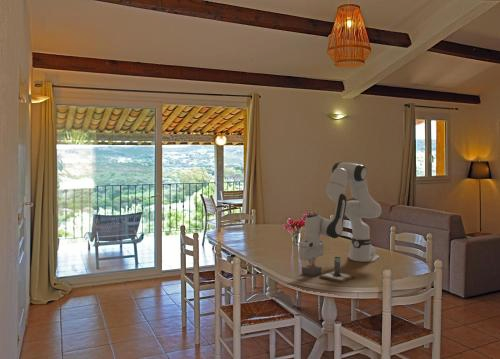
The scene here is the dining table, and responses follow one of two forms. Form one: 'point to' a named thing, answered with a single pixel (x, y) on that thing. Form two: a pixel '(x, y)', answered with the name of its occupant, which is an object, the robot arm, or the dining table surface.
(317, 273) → the button housing
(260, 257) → the dining table surface
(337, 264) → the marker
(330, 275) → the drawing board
